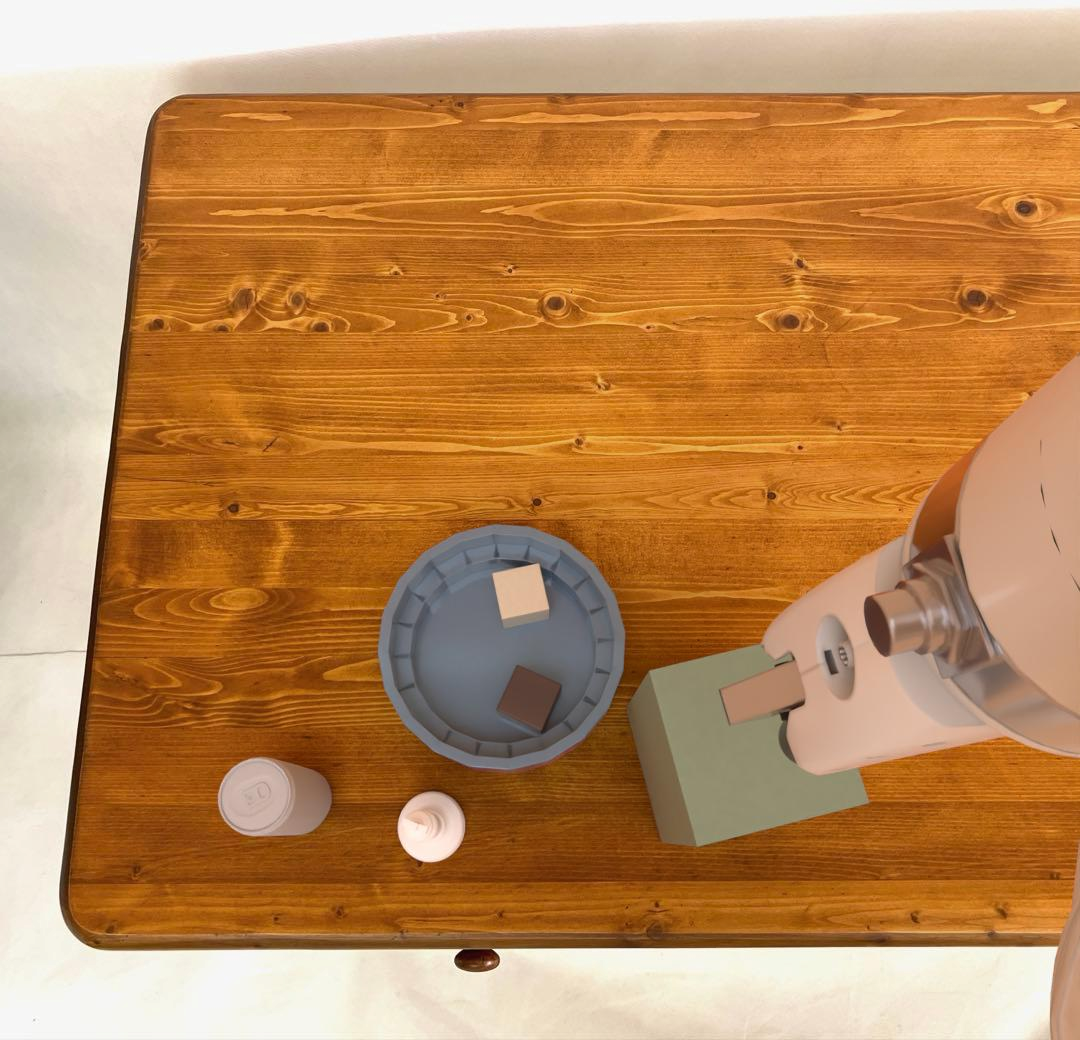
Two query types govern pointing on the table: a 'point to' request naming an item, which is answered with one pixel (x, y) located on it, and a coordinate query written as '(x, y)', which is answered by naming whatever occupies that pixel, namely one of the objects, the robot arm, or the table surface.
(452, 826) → the chess piece
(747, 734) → the stand
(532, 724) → the walnut block
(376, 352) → the table surface
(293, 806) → the beverage can
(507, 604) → the cream block
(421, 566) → the bowl
